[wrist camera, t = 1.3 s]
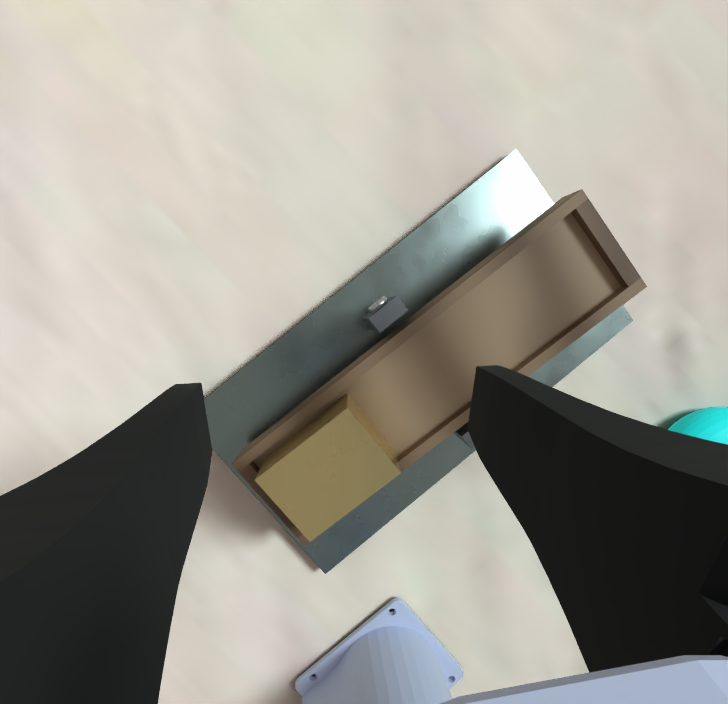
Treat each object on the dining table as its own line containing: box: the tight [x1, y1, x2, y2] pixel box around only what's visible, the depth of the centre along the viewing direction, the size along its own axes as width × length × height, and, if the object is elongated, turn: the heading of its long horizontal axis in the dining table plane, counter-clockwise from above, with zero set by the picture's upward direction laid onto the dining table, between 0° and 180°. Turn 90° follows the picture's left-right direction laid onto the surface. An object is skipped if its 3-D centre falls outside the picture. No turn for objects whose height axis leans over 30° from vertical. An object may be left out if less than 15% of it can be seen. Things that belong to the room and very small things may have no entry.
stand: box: [204, 149, 633, 574], centre depth 26 cm, size 27×14×5 cm, turn 128°
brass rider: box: [255, 393, 401, 542], centre depth 23 cm, size 6×4×3 cm
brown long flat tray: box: [231, 189, 647, 545], centre depth 24 cm, size 24×6×2 cm, turn 129°
